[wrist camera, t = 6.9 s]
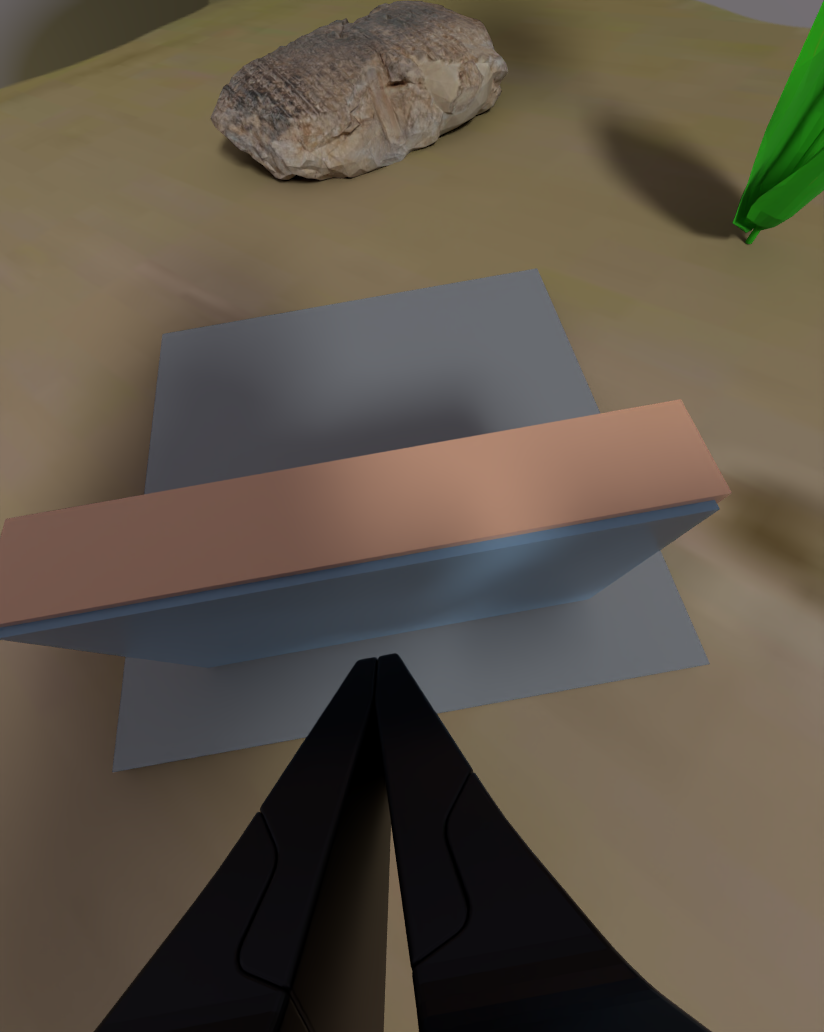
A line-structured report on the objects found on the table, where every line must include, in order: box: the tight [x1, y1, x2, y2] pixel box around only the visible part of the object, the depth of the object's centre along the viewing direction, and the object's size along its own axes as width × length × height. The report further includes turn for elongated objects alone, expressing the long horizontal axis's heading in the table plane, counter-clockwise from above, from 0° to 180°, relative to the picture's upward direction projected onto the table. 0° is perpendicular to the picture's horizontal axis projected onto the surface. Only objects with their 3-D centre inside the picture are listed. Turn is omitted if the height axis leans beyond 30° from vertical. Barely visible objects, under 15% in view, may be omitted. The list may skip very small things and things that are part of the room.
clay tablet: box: [211, 1, 508, 180], centre depth 28 cm, size 14×5×20 cm
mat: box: [112, 269, 710, 772], centre depth 18 cm, size 20×20×1 cm
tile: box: [0, 399, 732, 668], centre depth 12 cm, size 2×14×8 cm, turn 99°
